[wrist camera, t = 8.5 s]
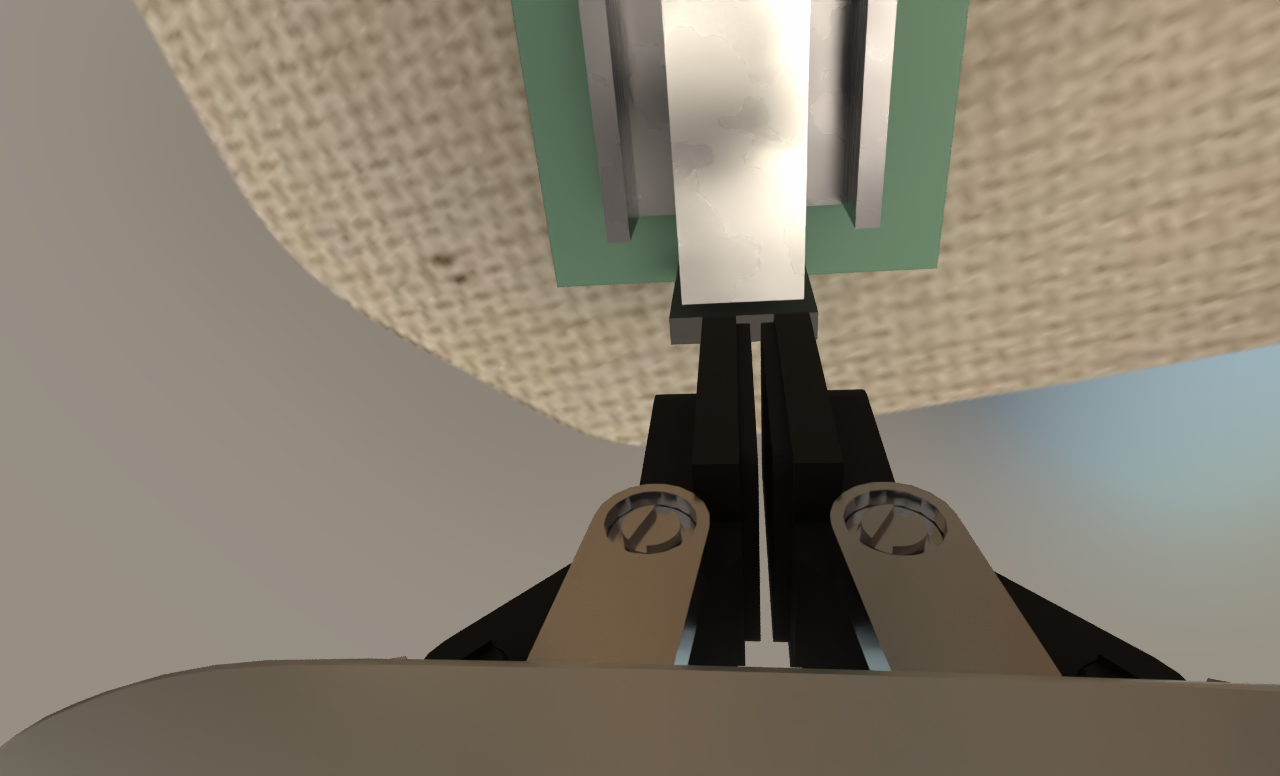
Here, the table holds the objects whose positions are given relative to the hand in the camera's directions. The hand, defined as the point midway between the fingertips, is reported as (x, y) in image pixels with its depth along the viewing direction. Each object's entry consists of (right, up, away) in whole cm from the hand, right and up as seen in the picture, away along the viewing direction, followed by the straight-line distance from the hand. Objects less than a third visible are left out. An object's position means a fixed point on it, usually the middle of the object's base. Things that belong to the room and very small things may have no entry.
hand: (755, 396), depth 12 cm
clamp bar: (+1, +11, +9) cm, 14 cm away
